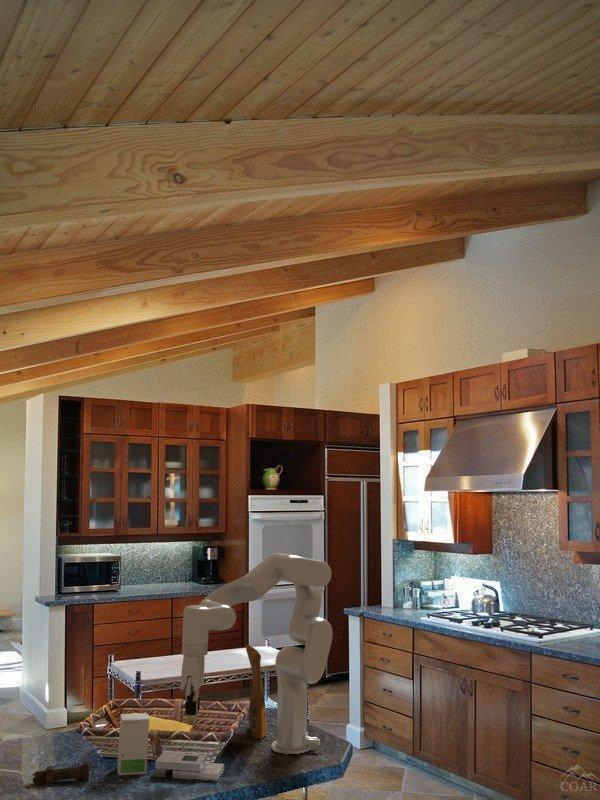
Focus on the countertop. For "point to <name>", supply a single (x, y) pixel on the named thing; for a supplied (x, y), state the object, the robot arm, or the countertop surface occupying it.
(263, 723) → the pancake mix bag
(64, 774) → the bolt
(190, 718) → the pin
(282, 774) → the countertop surface
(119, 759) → the skincare box
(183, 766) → the grey electronic gadget
